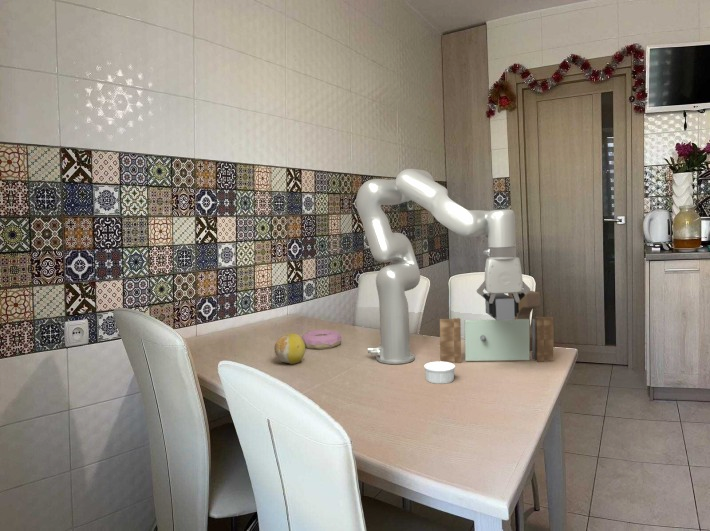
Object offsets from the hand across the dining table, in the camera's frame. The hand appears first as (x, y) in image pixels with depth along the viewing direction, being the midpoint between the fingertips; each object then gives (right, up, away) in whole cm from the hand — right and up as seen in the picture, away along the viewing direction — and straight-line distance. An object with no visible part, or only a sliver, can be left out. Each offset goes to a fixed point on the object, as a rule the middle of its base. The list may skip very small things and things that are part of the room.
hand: (503, 315), depth 149 cm
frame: (+3, -16, +17) cm, 24 cm away
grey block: (0, -1, +5) cm, 5 cm away
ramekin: (-18, -19, +1) cm, 26 cm away
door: (+4, -16, +16) cm, 23 cm away
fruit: (-64, -18, +24) cm, 71 cm away
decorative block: (+17, -15, +33) cm, 40 cm away
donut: (-55, -16, +47) cm, 75 cm away
